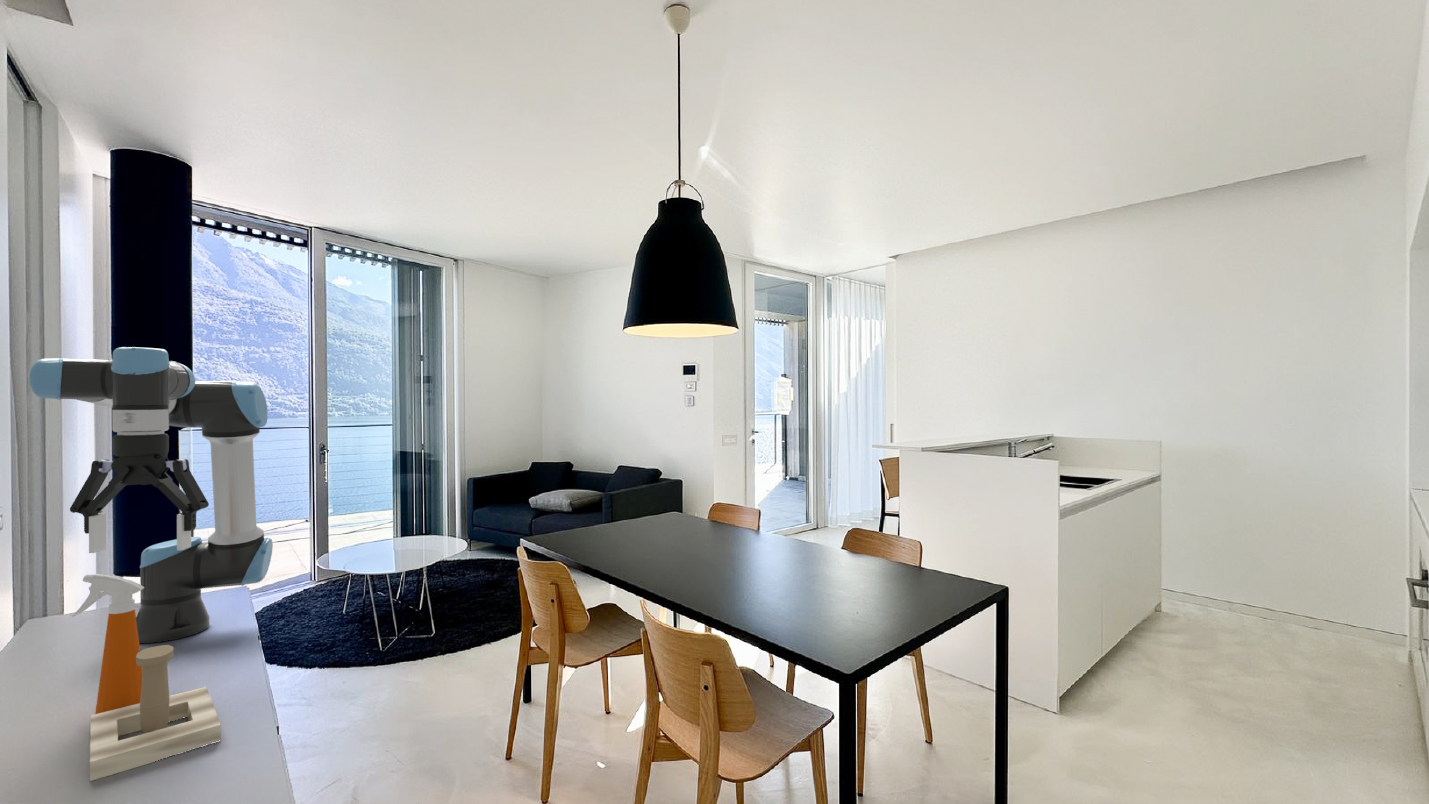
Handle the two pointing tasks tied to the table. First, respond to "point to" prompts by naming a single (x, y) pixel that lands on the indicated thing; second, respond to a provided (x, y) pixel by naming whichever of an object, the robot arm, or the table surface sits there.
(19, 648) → the table surface
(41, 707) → the table surface
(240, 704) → the table surface
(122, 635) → the spray bottle
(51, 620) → the table surface
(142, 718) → the handle
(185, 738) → the board
